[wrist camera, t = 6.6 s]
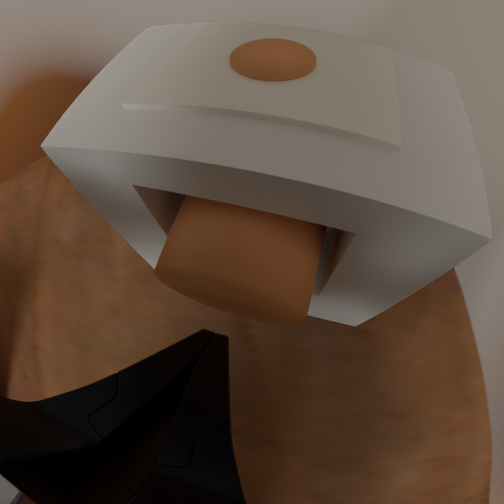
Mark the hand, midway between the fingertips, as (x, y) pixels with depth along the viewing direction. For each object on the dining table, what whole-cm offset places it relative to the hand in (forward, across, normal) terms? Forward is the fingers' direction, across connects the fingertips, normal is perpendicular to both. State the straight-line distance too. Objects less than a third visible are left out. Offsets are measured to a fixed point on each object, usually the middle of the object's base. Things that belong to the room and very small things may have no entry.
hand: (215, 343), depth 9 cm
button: (+4, 0, -1) cm, 4 cm away
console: (+10, 0, 0) cm, 10 cm away
